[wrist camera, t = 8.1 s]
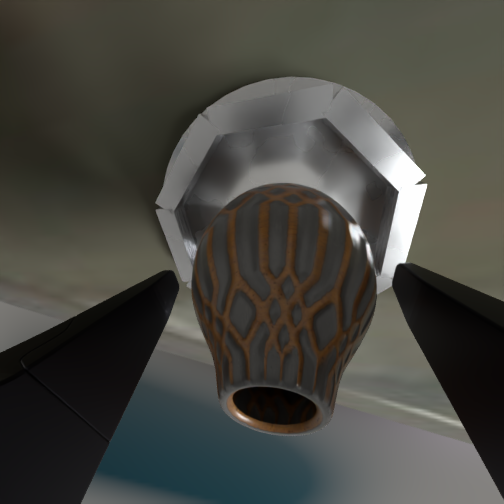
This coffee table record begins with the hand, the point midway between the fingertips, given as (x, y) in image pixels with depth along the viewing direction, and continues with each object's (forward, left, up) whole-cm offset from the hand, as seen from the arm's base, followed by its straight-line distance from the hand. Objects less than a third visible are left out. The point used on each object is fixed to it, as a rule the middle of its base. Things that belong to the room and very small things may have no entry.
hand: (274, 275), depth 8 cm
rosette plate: (0, 0, -5) cm, 5 cm away
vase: (0, 0, -4) cm, 4 cm away
